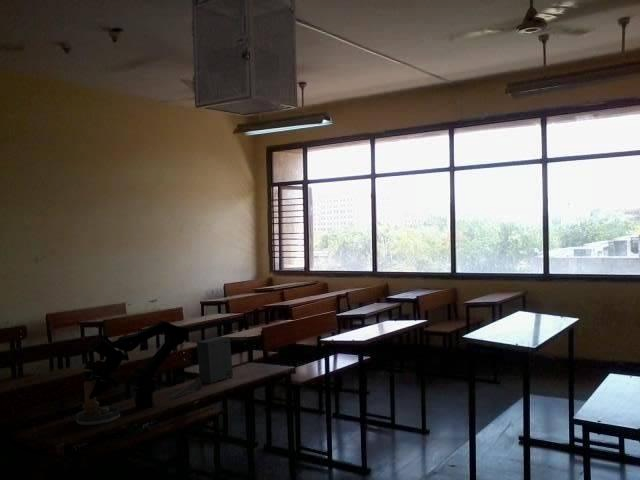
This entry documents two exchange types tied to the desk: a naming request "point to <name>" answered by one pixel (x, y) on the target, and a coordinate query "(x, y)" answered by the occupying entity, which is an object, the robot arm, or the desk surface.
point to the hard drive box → (214, 359)
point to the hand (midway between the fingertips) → (86, 398)
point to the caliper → (188, 388)
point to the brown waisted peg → (90, 404)
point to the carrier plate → (98, 416)
